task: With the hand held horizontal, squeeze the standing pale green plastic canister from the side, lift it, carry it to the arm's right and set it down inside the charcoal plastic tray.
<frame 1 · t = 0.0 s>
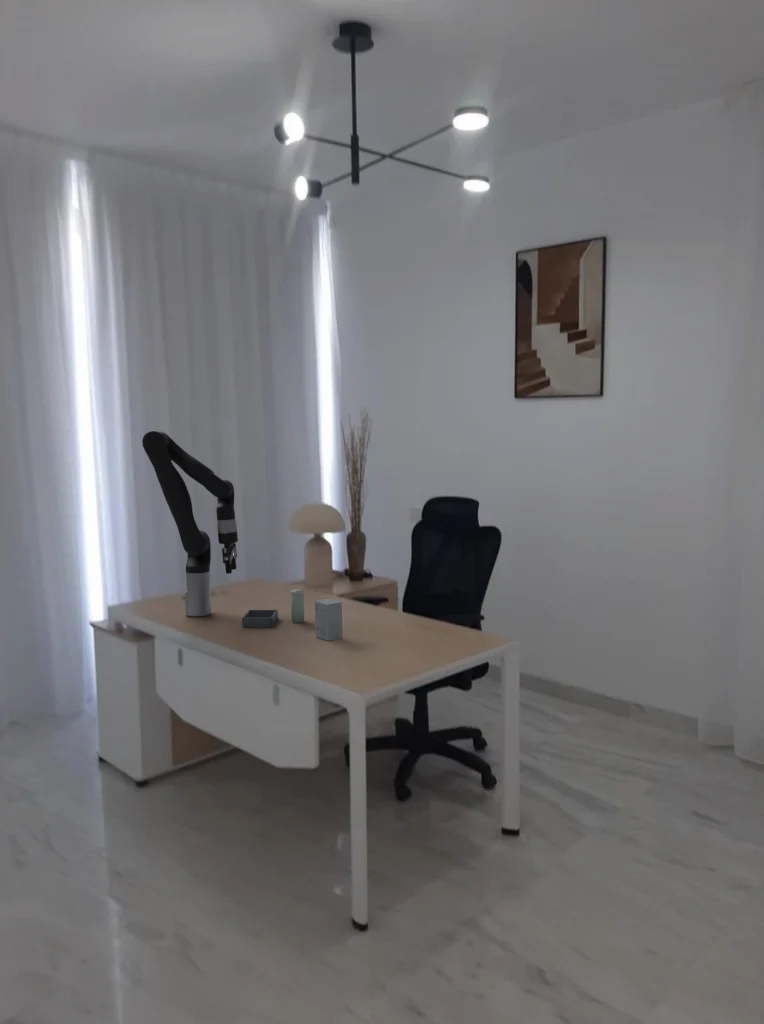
hand: (231, 571, 318), 17 cm above the table, tool pointing down, fingers open, 8 cm apart
canister: (297, 621, 307), on the table
small box: (328, 638, 284), on the table
tray: (260, 622, 305), on the table
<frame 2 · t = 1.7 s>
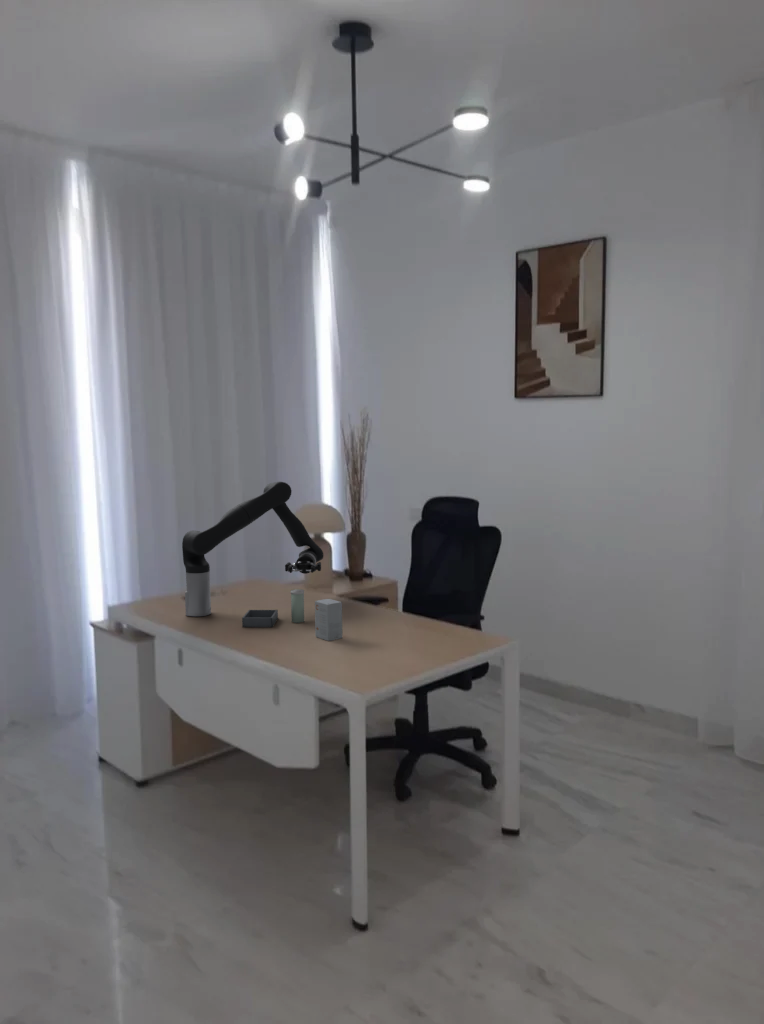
hand: (301, 570, 317), 18 cm above the table, tool horizontal, fingers open, 8 cm apart
nothing on the table moved.
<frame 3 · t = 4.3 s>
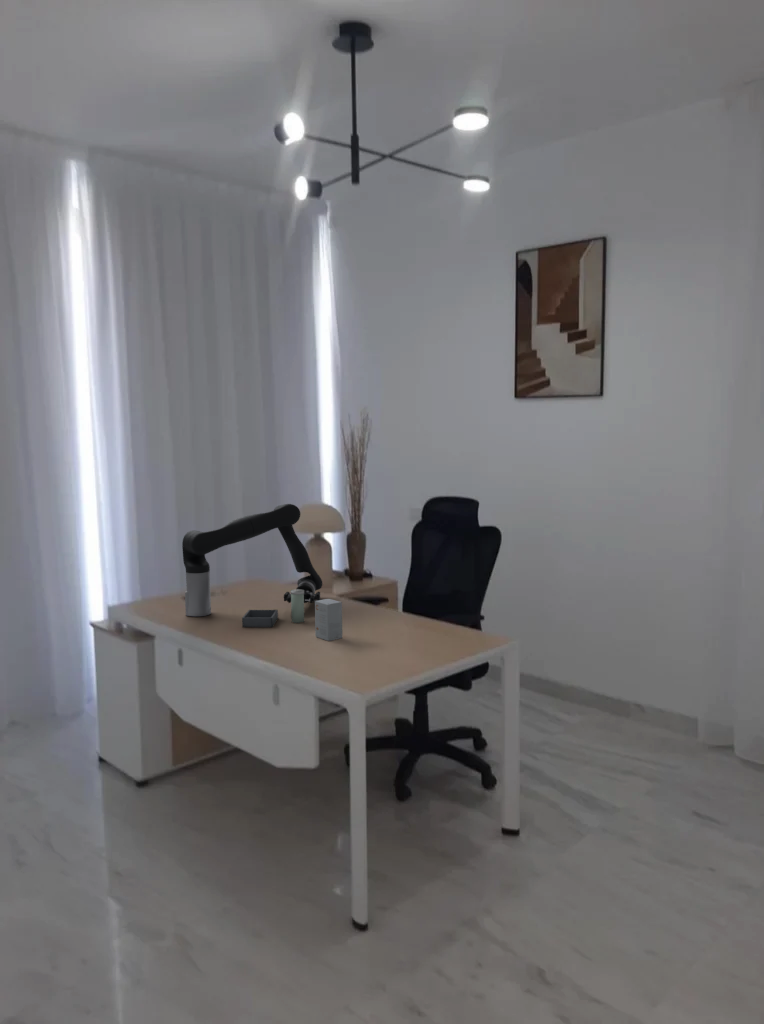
hand: (300, 600, 314), 6 cm above the table, tool horizontal, fingers open, 8 cm apart
nothing on the table moved.
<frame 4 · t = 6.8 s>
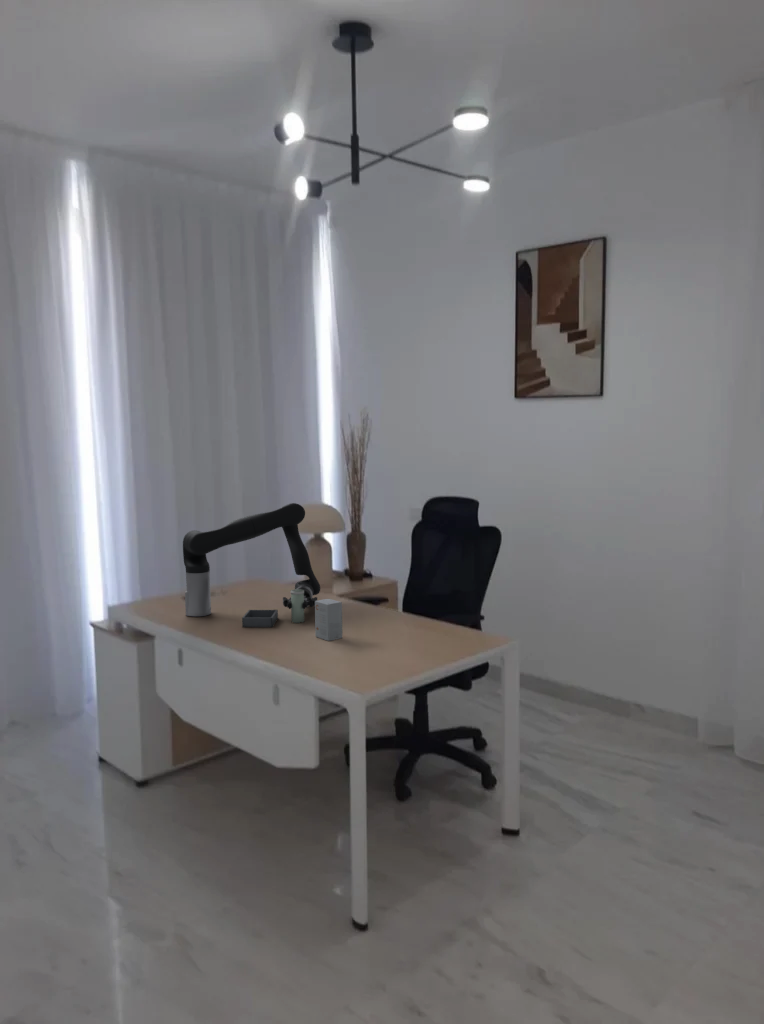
hand: (296, 606, 304), 7 cm above the table, tool horizontal, fingers closed on canister, 4 cm apart
canister: (297, 621, 307), on the table, touching gripper
everything else where it was.
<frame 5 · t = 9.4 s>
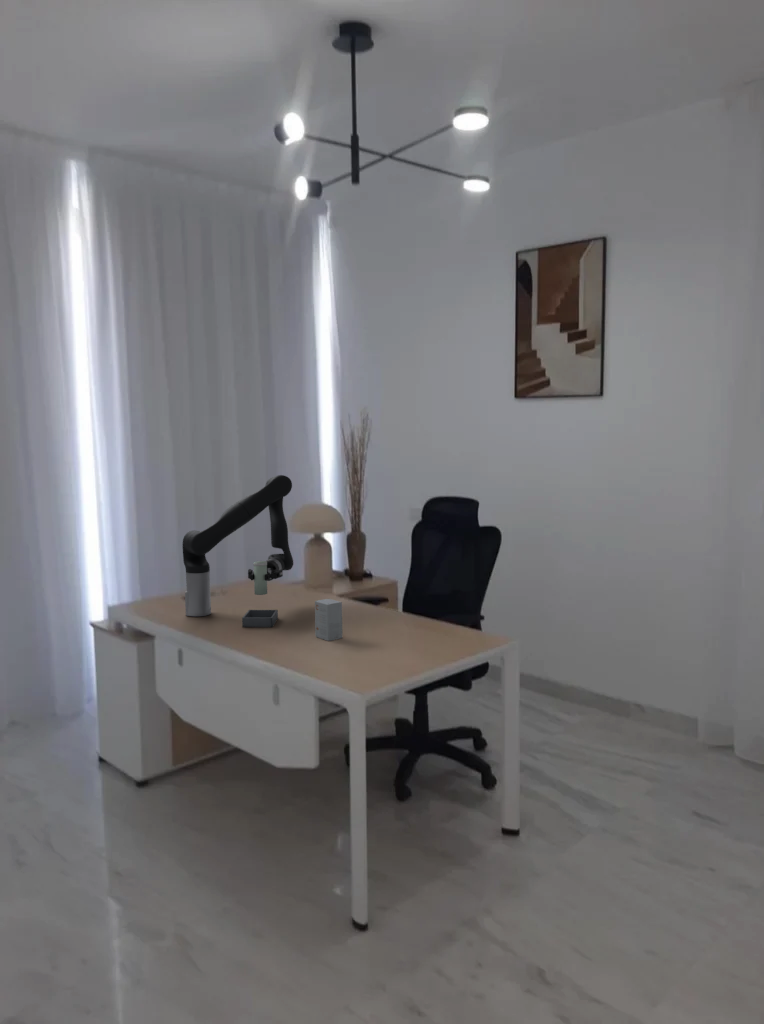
hand: (258, 577, 301), 18 cm above the table, tool horizontal, fingers closed on canister, 4 cm apart
canister: (260, 593, 304), point 11 cm above the table, touching gripper
everything else where it was.
when the fingers open (9 cm above the table, at t = 11.6 s): canister drops 2 cm, resting on tray.
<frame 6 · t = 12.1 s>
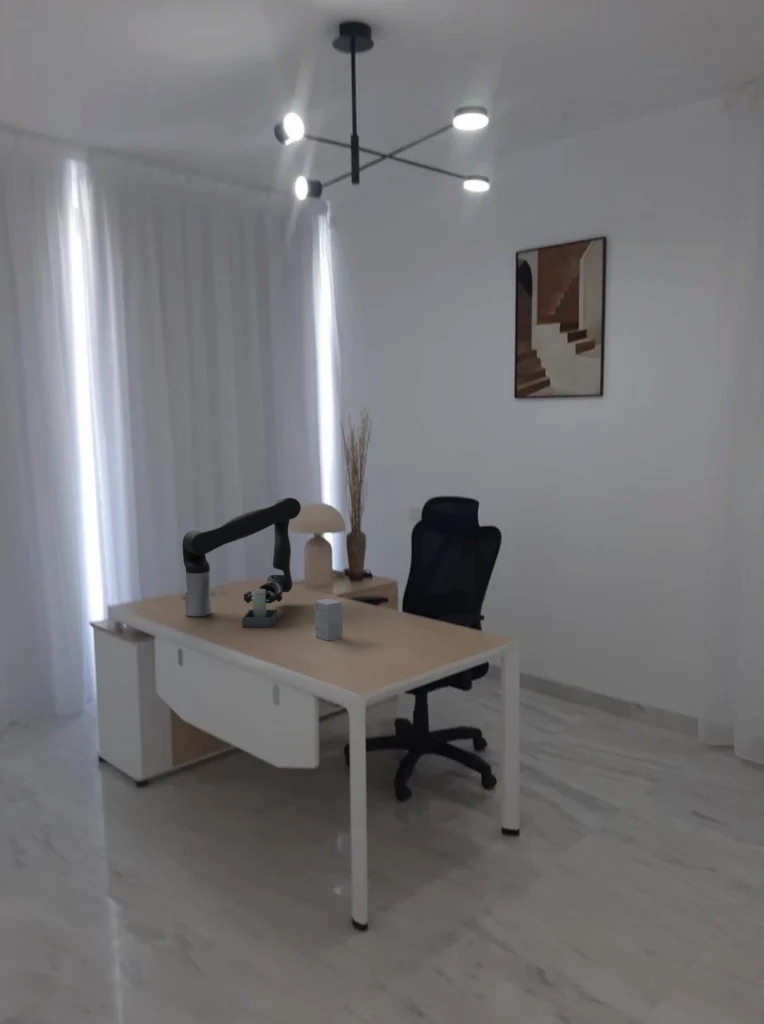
hand: (258, 600, 303), 9 cm above the table, tool horizontal, fingers open, 8 cm apart
canister: (260, 621, 305), point 1 cm above the table, touching tray
everything else where it was.
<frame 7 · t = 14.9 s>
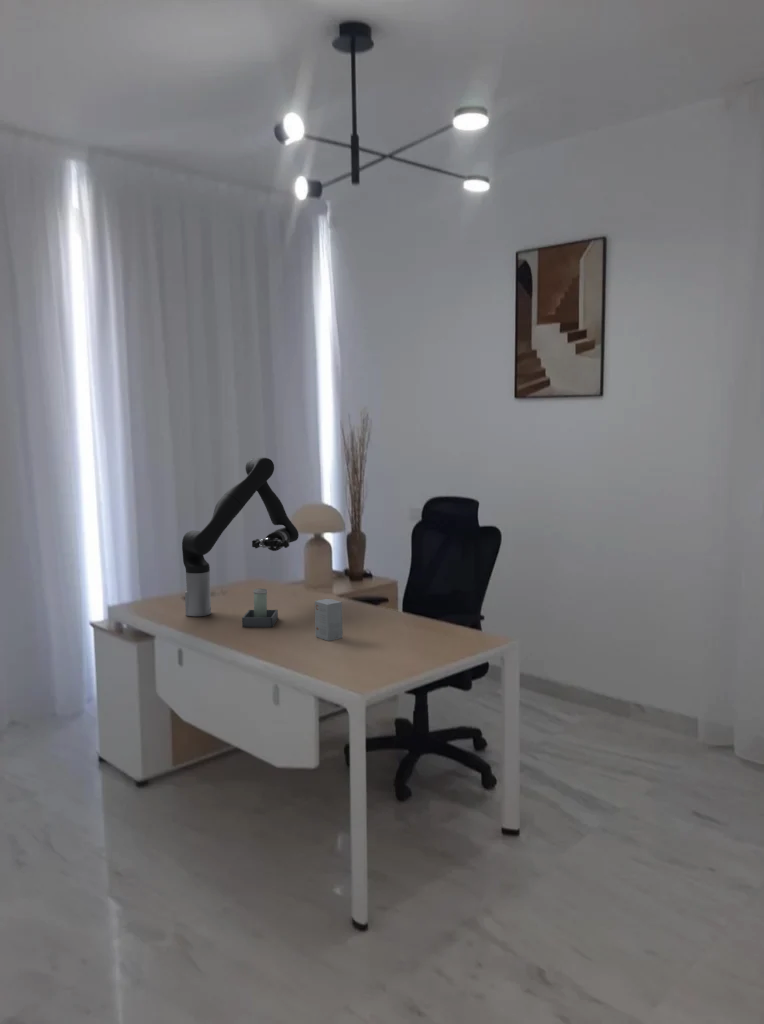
hand: (266, 545, 314), 28 cm above the table, tool horizontal, fingers open, 8 cm apart
nothing on the table moved.
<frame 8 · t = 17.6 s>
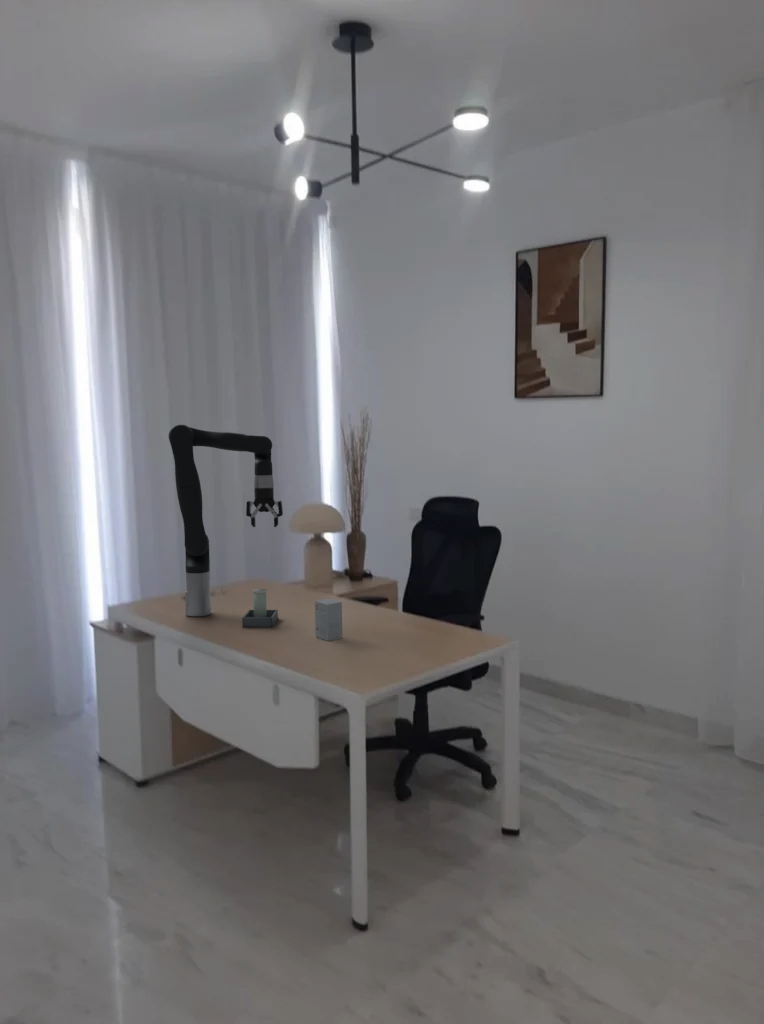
hand: (264, 526, 322), 34 cm above the table, tool pointing down, fingers open, 8 cm apart
nothing on the table moved.
at the end: canister inside the target area on the tray (0.1 cm from its centre), point 0.7 cm above the tray's base; canister tilted 2°; the gripper is holding nothing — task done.
